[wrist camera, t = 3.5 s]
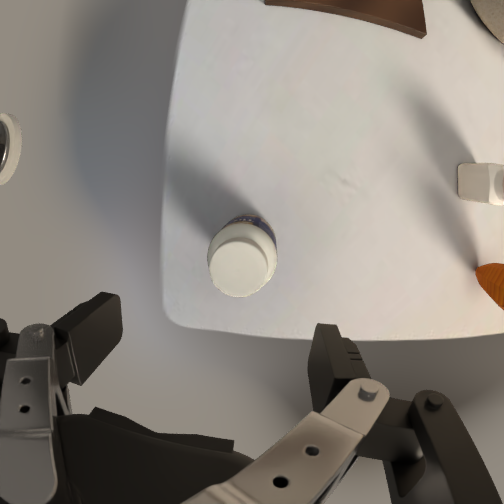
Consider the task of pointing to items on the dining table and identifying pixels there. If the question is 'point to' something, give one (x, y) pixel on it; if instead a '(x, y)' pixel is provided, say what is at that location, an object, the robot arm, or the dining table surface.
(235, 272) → the pill bottle
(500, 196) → the pepper shaker
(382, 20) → the board
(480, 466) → the robot arm
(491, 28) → the planter
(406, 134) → the dining table surface
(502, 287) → the carrot
